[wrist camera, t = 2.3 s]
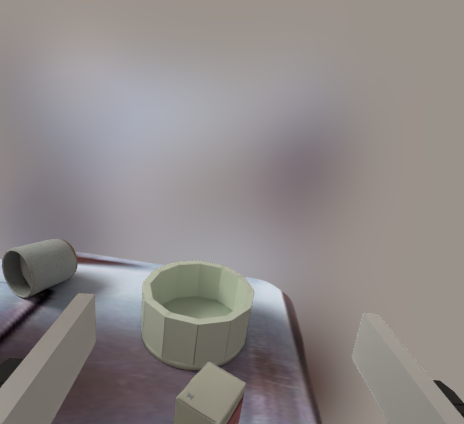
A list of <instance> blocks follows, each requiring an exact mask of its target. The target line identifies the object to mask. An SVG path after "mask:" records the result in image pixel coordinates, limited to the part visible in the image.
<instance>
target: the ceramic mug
mask: <svg viewBox="0 0 464 424" xmlns="http://www.w3.org/2000/svg"><path fill="white" fill-rule="evenodd" d="M77 263H78V261H77V256H76V253H75V251H74V249H73V247H72V246H71V245H70V244H69V243H68V242H67V241H65V240H62V239H50V240H45V241H41V242H38V243H33V244H29V245H24V246H20V247H16V248H11V249H9V250H7V251H6V252H5V254H4V256H3V259H2V269H3V274H4V277H5V280H6V282H7V284H8V286H9V287H10V289H11V290H12V291H13V292H14V293H15V294H16V295H17V296H19V297H22V298H27V297H30V296H32V295H34V294H36V293H38V292H41V291H43V290H45V289H47V288H50V287H52V286H54V285H56V284H58V283H61V282H63V281H65V280H67V279H68V278H70V277H71V276H72V275H74V273H75V272H76V269H77Z"/></svg>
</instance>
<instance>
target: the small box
mask: <svg viewBox="0 0 464 424" xmlns="http://www.w3.org/2000/svg"><path fill="white" fill-rule="evenodd" d="M245 386H246V383H245V382H244V381H242V380H240V379H239V378H237V377H235V376H233V375H232V374H230V373H228V372H227V371H225V370H223V369H222V368H220V367H218V366H216V365H215V364H213V363H211V362H207V363H206V364H205V366H204V367H203V368H202V369H201V370H200V371H199V372H198V373H197V374H196V375H195V376H194V377H193V378H192V380H191V381H190V382H189V383H188V384H187V385H186V387H185V388H184V389H183V390H182V391H181V392H180V394H179V395H178V396H177V397H176V405H175V415H174V424H238V423H239V417H240V412H241V407H242V402H243V396H244V391H245Z"/></svg>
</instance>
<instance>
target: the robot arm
mask: <svg viewBox="0 0 464 424" xmlns="http://www.w3.org/2000/svg"><path fill="white" fill-rule="evenodd" d="M95 344H96V323H95V294H86V293H78V294H77V295H76V296H75V297H74V299H73V300H72V301H71V302H70V303H69V305H68V306H67V307H66V308H65V310H64V311H63V312H62V313H61V314H60V316H59V317H58V318H57V319H56V321H55V322H54V323H53V324H52V325H51V327H50V328H49V329H48V330H47V332H46V333H45V334H44V335H43V336H42V338H41V339H40V340H39V341H38V343H37V344H36V345H35V346H34V347H33V349H32V350H31V351H30V352H29V354H28V355H27V356H26V357H25V358H24V359H15V358H9V359H8V360H6V361H5V362H3V363H2V364H1V365H0V424H51V423H52V421H53V419H54V418H55V416H56V414H57V412H58V410H59V409H60V407H61V405H62V403H63V401H64V400H65V398H66V396H67V394H68V392H69V391H70V389H71V387H72V385H73V383H74V382H75V380H76V378H77V376H78V374H79V373H80V371H81V369H82V367H83V365H84V364H85V362H86V360H87V358H88V356H89V354H90V353H91V351H92V349H93V347H94V345H95ZM351 358H352V360H353V361H354V363H355V365H356V367H357V368H358V371H359V372H360V374H361V376H362V378H363V380H364V381H365V383H366V385H367V387H368V389H369V390H370V392H371V394H372V396H373V398H374V399H375V401H376V403H377V405H378V406H379V408H380V410H381V412H382V414H383V415H384V417H385V419H386V421H387V423H388V424H464V403H463V402H462V400H461V399H460V398H459V397H458V396H457V395H456V394H455V392H454V391H452V390H451V389H450V388H449V387H447V386H446V385H445V384H443V383H442V382H441V381H437V380H432V379H431V378H430V377H429V375H428V374H427V373H426V372H425V370H424V369H423V368H422V367H421V366H420V364H419V363H418V362H417V361H416V360H415V358H414V357H413V356H412V355H411V353H410V352H409V351H408V350H407V349H406V347H405V346H404V345H403V344H402V342H401V341H400V340H399V339H398V338H397V336H396V335H395V334H394V333H393V332H392V330H391V329H390V328H389V327H388V326H387V325H386V323H385V322H384V321H383V319H382V318H381V317H380V316H379V315H378V314H375V313H363V315H362V319H361V323H360V326H359V330H358V334H357V338H356V342H355V346H354V350H353V354H352V357H351Z"/></svg>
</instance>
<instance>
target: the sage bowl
mask: <svg viewBox="0 0 464 424" xmlns="http://www.w3.org/2000/svg"><path fill="white" fill-rule="evenodd" d="M253 297H254V290H253V288H252V287H251V286H250V284H249V283H248V281H247V280H246V278H245V277H244V276H242V275H240V274H239V273H237V272H235V271H233V270H231V269H230V268H228V267H226V266H223V265H218V264H213V263H208V262H204V261H185V262H174V263H171V264H169V265H166V266H163V267H160V268H157V269H155V270H154V271H153V272H152V273H151V274H150V275H149V276H148V278H147V279H146V280H145V281H144V282H143V284H142V304H141V336H142V341H143V343H144V345H145V347H146V349H147V350H148V351H149V352H150V353H151V355H153V356H154V357H155V358H156V359H158V360H159V361H161V362H162V363H165V364H167V365H169V366H172V367H175V368H179V369H184V370H201V369H202V368H203V367H204V366H205V364H206V363H207V362H211V363H213V364H215V365H216V366H218V367H219V366H222V365H224V364H226V363H228V362H230V361H231V360H232V359H234V358H235V357H236V356H237V355H238V354H239V353H240V351H241V350H242V348H243V346H244V344H245V340H246V334H247V329H248V324H249V319H250V313H251V308H252V302H253Z"/></svg>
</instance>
